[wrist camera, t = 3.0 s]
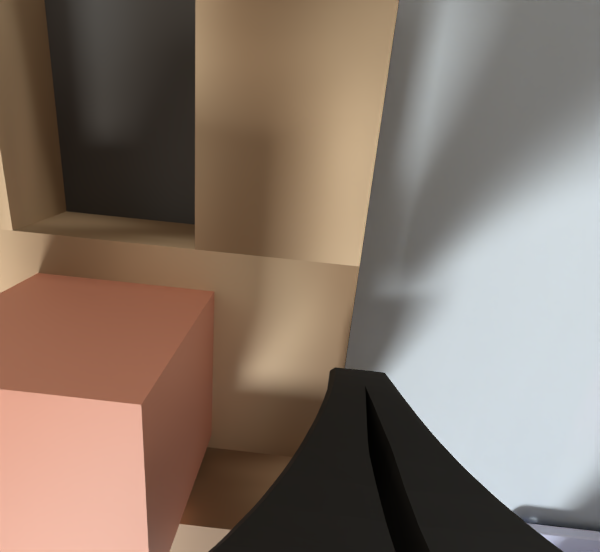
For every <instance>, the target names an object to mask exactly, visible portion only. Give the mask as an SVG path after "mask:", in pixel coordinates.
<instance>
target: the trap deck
mask: <svg viewBox="0 0 600 552" xmlns="http://www.w3.org/2000/svg"><path fill="white" fill-rule="evenodd" d="M398 3H399V0H0V293H1V292H3V291H5V290H7V289H9V288H11V287H13V286H15V285H16V284H18V283H20V282H22V281H24V280H26V279H28V278H30V277H31V276H33V275H35V274H37V273H44V274H54V275H63V276H73V277H82V278H91V279H101V280H110V281H120V282H129V283H139V284H148V285H158V286H167V287H177V288H186V289H196V290H205V291H214V336H213V385H212V433H211V438H210V441H209V443H208V446H207V449H206V452H205V455H204V457H203V460H202V463H201V466H200V468H199V471H198V474H197V477H196V479H195V482H194V485H193V488H192V491H191V493H190V496H189V499H188V502H187V504H186V507H185V510H184V513H183V516H182V518H181V521H180V524H179V527H178V529H177V532H176V535H175V538H174V540H173V543H172V546H171V549H170V552H208V551H210V550H211V549H212V548H213V547H214V546H215V545H216V544H217V543H218V542H220V541H221V540H222V539H223V538H224V537H225V536H226V535H227V534H228V533H229V532H230V531H231V530H232V529H233V528H234V526H235V525H236V524H237V523H238V522H239V521H240V520H241V519H242V518H243V517H244V516H245V515H246V514H247V513H248V512H249V511H250V510H251V509H252V508H253V507H254V506H255V505H256V503H257V502H258V501H259V500H260V499H261V498H262V496H263V495H264V494H265V493H266V492H267V490H268V489H269V488H270V487H271V485H272V484H273V483H274V482H275V480H276V479H277V478H278V477H279V475H280V474H281V473H282V471H283V470H284V469H285V467H286V466H287V464H288V463H289V461H290V460H291V459H292V457H293V456H294V454H295V453H296V451H297V450H298V448H299V446H300V445H301V443H302V441H303V440H304V438H305V436H306V434H307V433H308V431H309V429H310V427H311V425H312V424H313V422H314V420H315V418H316V416H317V413H318V411H319V409H320V407H321V404H322V402H323V400H324V397H325V394H326V391H327V387H328V380H329V372H330V370H332V369H333V368H335V367H336V368H345V362H346V355H347V348H348V341H349V335H350V328H351V321H352V314H353V308H354V301H355V294H356V287H357V280H358V274H359V267H360V260H361V253H362V247H363V240H364V233H365V226H366V220H367V213H368V206H369V199H370V192H371V186H372V179H373V172H374V165H375V159H376V152H377V145H378V138H379V132H380V125H381V118H382V111H383V105H384V98H385V91H386V84H387V77H388V71H389V64H390V57H391V50H392V44H393V37H394V30H395V23H396V17H397V10H398Z"/></svg>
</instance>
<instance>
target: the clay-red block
mask: <svg viewBox="0 0 600 552" xmlns="http://www.w3.org/2000/svg"><path fill="white" fill-rule="evenodd" d="M213 336H214V291H205V290H196V289H186V288H177V287H167V286H158V285H148V284H139V283H129V282H120V281H110V280H101V279H91V278H82V277H73V276H63V275H54V274H44V273H37V274H35V275H33V276H31V277H30V278H28V279H26V280H24V281H22V282H20V283H18V284H16V285H15V286H13V287H11V288H9V289H7V290H5V291H3V292H1V293H0V552H170V549H171V546H172V543H173V540H174V538H175V535H176V532H177V529H178V527H179V524H180V521H181V518H182V516H183V513H184V510H185V507H186V504H187V502H188V499H189V496H190V493H191V491H192V488H193V485H194V482H195V479H196V477H197V474H198V471H199V468H200V466H201V463H202V460H203V457H204V455H205V452H206V449H207V446H208V443H209V441H210V438H211V433H212V385H213Z"/></svg>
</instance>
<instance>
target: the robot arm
mask: <svg viewBox="0 0 600 552" xmlns="http://www.w3.org/2000/svg"><path fill="white" fill-rule="evenodd" d="M208 552H600V532H599V531H590V530H581V529H573V528H564V527H555V526H547V525H538V524H529V523H526V522H525V521H523V520H522V519H521V518H520V517H518V516H517V515H516V514H515V513H513V512H512V511H511V510H510V509H509V508H507V507H506V506H505V505H504V504H503V503H502V502H500V501H499V500H498V499H497V498H496V497H495V496H494V495H492V494H491V493H490V492H489V491H488V490H487V489H486V488H485V487H484V486H483V485H482V484H481V483H480V482H478V481H477V480H476V479H475V478H474V477H473V476H472V475H471V474H470V473H469V472H468V471H467V470H466V469H465V468H464V467H463V466H462V465H461V464H460V463H459V462H458V461H457V460H456V459H455V458H454V457H453V456H452V455H451V454H450V453H449V452H448V451H447V449H446V448H445V447H444V446H443V445H442V444H441V443H440V442H439V441H438V440H437V439H436V437H435V436H434V435H433V434H432V433H431V432H430V431H429V429H428V428H427V427H426V426H425V425H424V423H423V422H422V421H421V420H420V418H419V417H418V416H417V415H416V413H415V412H414V411H413V410H412V408H411V407H410V406H409V404H408V403H407V402H406V401H405V399H404V398H403V397H402V395H401V394H400V393H399V391H398V390H397V389H396V387H395V386H394V385H393V383H392V382H391V381H390V379H389V378H388V377H387V375H386V374H385V373H382V372H373V371H364V370H355V369H345V368H336V367H335V368H333V369H332V370H330V372H329V380H328V387H327V391H326V394H325V397H324V400H323V402H322V404H321V407H320V409H319V411H318V413H317V416H316V418H315V420H314V422H313V424H312V425H311V427H310V429H309V431H308V433H307V434H306V436H305V438H304V440H303V441H302V443H301V445H300V446H299V448H298V450H297V451H296V453H295V454H294V456H293V457H292V459H291V460H290V461H289V463H288V464H287V466H286V467H285V469H284V470H283V471H282V473H281V474H280V475H279V477H278V478H277V479H276V480H275V482H274V483H273V484H272V485H271V487H270V488H269V489H268V490H267V492H266V493H265V494H264V495H263V496H262V498H261V499H260V500H259V501H258V502H257V503H256V505H255V506H254V507H253V508H252V509H251V510H250V511H249V512H248V513H247V514H246V515H245V516H244V517H243V518H242V519H241V520H240V521H239V522H238V523H237V524H236V525H235V526H234V528H233V529H232V530H231V531H230V532H229V533H228V534H227V535H226V536H225V537H224V538H223V539H222V540H221V541H220V542H218V543H217V544H216V545H215V546H214V547H213V548H212V549H211V550H210V551H208Z"/></svg>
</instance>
